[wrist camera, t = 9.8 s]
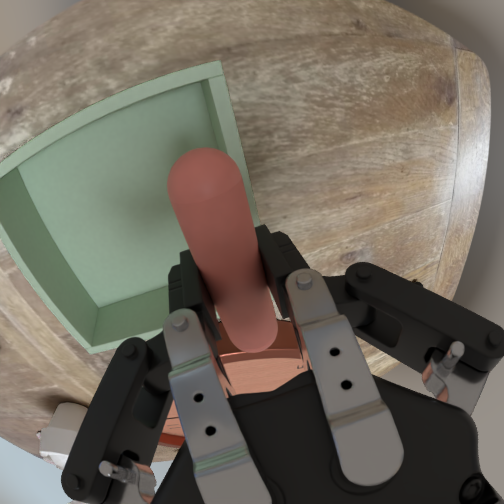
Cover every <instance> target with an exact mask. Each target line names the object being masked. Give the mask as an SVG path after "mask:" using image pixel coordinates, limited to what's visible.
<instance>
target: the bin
mask: <svg viewBox="0 0 504 504" xmlns="http://www.w3.org/2000/svg"><path fill="white" fill-rule="evenodd" d="M223 74H224V72H223V68H222V64H221V61H220V60H217V61H213V62H209V63H205V64H201V65H197V66H193V67H190V68H186V69H183V70H179V71H176V72H173V73H170V74H167V75H164V76H161V77H158V78H155V79H152V80H149V81H147V82H144V83H141V84H139V85H136V86H134V87H131V88H129V89H126V90H124V91H121V92H119V93H117V94H114V95H112V96H110V97H108V98H106V99H103V100H101V101H99V102H97V103H95V104H93V105H91V106H89V107H87V108H85V109H83V110H81V111H79V112H77V113H75V114H73V115H72V116H70V117H68V118H66V119H64V120H63V121H61V122H59V123H58V124H56V125H54V126H52V127H51V128H49V129H48V130H46V131H44V132H43V133H41V134H40V135H38V136H36V137H35V138H33V139H32V140H30V141H29V142H28V143H26V144H25V145H23V146H22V147H20V148H19V149H18V150H16V151H15V152H13V153H12V154H11V155H9V156H8V157H7V158H5V159H4V160H3V161H2V162H0V239H1V240H2V242H3V244H4V245H5V247H6V249H7V250H8V252H9V254H10V255H11V257H12V258H13V260H14V261H15V263H16V265H17V266H18V268H19V269H20V270H21V272H22V273H23V275H24V276H25V278H26V279H27V281H28V282H29V283H30V285H31V286H32V287H33V289H34V290H35V291H36V293H37V294H38V295H39V297H40V298H41V299H42V301H43V302H44V303H45V304H46V306H47V307H48V308H49V309H50V311H51V312H52V313H53V314H54V315H55V317H56V318H57V319H58V320H59V321H60V322H61V324H62V325H63V326H64V327H65V328H66V329H67V330H68V332H69V333H70V334H71V335H72V336H73V337H74V338H75V339H76V340H77V341H78V342H79V343H80V344H81V345H82V347H83V348H85V349H86V351H87V352H88V353H89V354H94V353H98V352H102V351H107V350H111V349H115V348H118V347H119V345H120V344H121V343H122V342H123V341H125V340H126V339H128V338H131V337H140V338H142V339H143V340H144V341H145V340H149V339H151V338H153V337H155V336H156V335H158V334H159V333H160V332H161V331H162V330H163V323H164V321H165V319H166V318H167V317H168V315H169V296H168V291H169V290H168V285H169V284H168V274H169V272H170V270H171V267H172V266H174V265H177V264H180V255H179V253H180V252H181V251H184V250H187V249H189V247H188V244H187V242H186V240H185V237H184V235H183V232H182V230H181V227H180V225H179V222H178V220H177V217H176V215H175V212H174V210H173V207H172V205H171V202H170V200H169V196H168V192H167V180H168V175H169V172H170V170H171V167H172V166H173V164H174V163H175V162H176V160H177V159H178V158H180V157H181V156H182V155H183V154H185V153H186V152H188V151H190V150H193V149H196V148H203V147H208V148H215V149H218V150H220V151H223V152H224V153H226V154H227V155H229V156H230V157H231V158H232V159H233V160H234V161H235V163H236V164H237V166H238V168H239V170H240V173H241V175H242V179H243V183H244V187H245V191H246V196H247V200H248V204H249V208H250V212H251V216H252V220H253V224H254V227H257V226H260V221H259V216H258V212H257V208H256V203H255V199H254V195H253V190H252V186H251V182H250V178H249V174H248V169H247V165H246V161H245V157H244V153H243V148H242V144H241V140H240V136H239V132H238V128H237V124H236V120H235V116H234V112H233V108H232V104H231V99H230V95H229V92H228V88H227V84H226V80H225V76H224V75H223ZM269 290H270V289H269ZM270 294H271V291H270ZM271 298H272V301H273V300H274V298H273V296H272V294H271ZM215 311H216V308H215ZM216 315H217V319H219V318H220V317H219V315H218V313H217V311H216Z"/></svg>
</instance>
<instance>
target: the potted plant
mask: <svg viewBox="0 0 504 504" xmlns="http://www.w3.org/2000/svg"><path fill="white" fill-rule="evenodd" d="M87 410H88V408H86V407H84V406H82V405H79V404H76V403H69V402H66V403H61V404H59V405H58V407H57V409H56V411H55V413H54V415H53V417H52V419H51V421H50V423H49V425H48V427H47V428H42V429H41V436H40V453H39V455H41V456H42V457H44V458H45V459H47V460H49V461H51V462H54V463H55V464H56V467H57V468H59V469H62V470H63V469H64V467H65V464H66V461H67V459H68V456H69V453H70V451H71V448H72V446H73V443H74V441H75V438H76V436H77V433H78V431H79V429H80V426H81V424H82V422H83V419H84V417H85V415H86V413H87ZM68 504H87V503H83V502H79V501H75V500H73V501H72V502H70V503H68Z"/></svg>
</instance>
